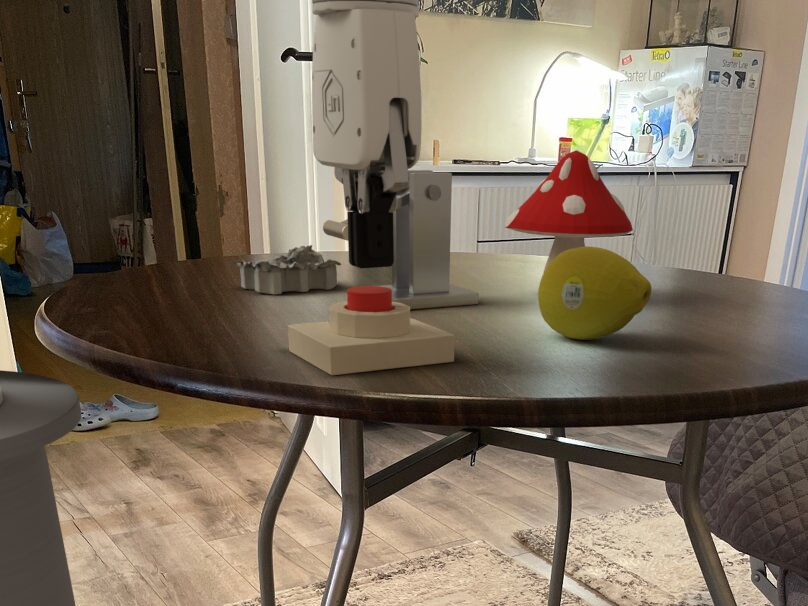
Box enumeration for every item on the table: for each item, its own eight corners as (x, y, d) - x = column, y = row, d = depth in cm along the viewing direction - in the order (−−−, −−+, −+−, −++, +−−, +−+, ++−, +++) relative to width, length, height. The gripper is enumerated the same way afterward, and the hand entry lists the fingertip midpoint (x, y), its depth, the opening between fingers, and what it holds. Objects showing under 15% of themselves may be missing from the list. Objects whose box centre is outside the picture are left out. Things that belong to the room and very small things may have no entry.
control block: (331, 375, 70) (329, 322, 68) (288, 351, 77) (285, 302, 75) (454, 362, 75) (455, 312, 73) (404, 340, 82) (404, 293, 80)
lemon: (514, 334, 85) (519, 243, 81) (567, 324, 90) (574, 238, 86) (607, 356, 78) (617, 258, 74) (659, 344, 83) (671, 251, 79)
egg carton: (315, 280, 110) (314, 244, 108) (346, 289, 105) (346, 252, 103) (233, 286, 104) (230, 248, 102) (261, 296, 99) (258, 256, 97)
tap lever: (347, 248, 90) (338, 223, 89) (327, 242, 94) (318, 218, 92) (447, 199, 93) (440, 175, 92) (424, 195, 97) (417, 172, 95)
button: (359, 317, 72) (358, 294, 71) (340, 309, 75) (340, 287, 74) (399, 314, 74) (399, 291, 73) (380, 306, 76) (379, 284, 76)
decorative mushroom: (499, 303, 99) (507, 150, 92) (503, 283, 111) (510, 146, 104) (630, 309, 98) (648, 154, 91) (619, 288, 110) (634, 150, 103)
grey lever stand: (395, 310, 94) (395, 174, 88) (362, 298, 100) (360, 169, 94) (478, 304, 98) (483, 173, 92) (442, 292, 104) (444, 169, 98)
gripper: (277, -4, 68) (292, 256, 77) (362, -25, 57) (369, 283, 65) (368, 3, 71) (373, 252, 80) (465, -15, 60) (459, 276, 69)
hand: (371, 265), depth 73 cm, fingers closed
